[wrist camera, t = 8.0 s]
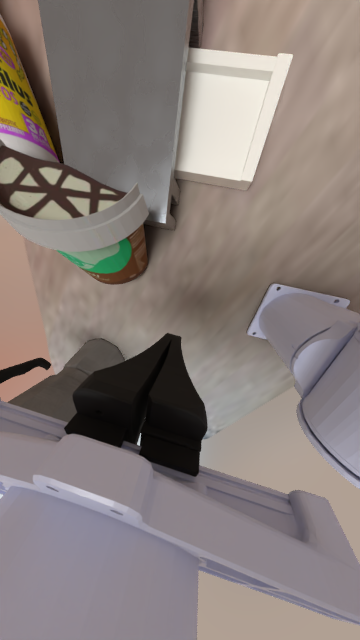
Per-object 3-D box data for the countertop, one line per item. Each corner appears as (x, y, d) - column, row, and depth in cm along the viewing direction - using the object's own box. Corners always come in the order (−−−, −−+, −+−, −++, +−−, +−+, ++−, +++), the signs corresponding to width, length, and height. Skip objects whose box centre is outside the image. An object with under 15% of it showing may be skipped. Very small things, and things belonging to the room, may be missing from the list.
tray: (279, 86, 11) (293, 54, 9) (246, 190, 14) (251, 181, 12) (141, 69, 12) (129, 37, 10) (138, 171, 15) (129, 160, 13)
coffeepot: (139, 367, 29) (60, 503, 13) (114, 380, 33) (28, 499, 17) (84, 313, 25) (-124, 416, 9) (62, 335, 29) (-112, 434, 13)
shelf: (212, -44, 9) (217, -263, 5) (174, 230, 17) (165, 223, 13) (80, -50, 10) (-2, -246, 6) (101, 215, 17) (70, 204, 13)
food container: (53, 273, 18) (-89, 183, 8) (77, 236, 19) (-20, 121, 9) (139, 306, 18) (102, 257, 8) (157, 268, 19) (144, 185, 9)
